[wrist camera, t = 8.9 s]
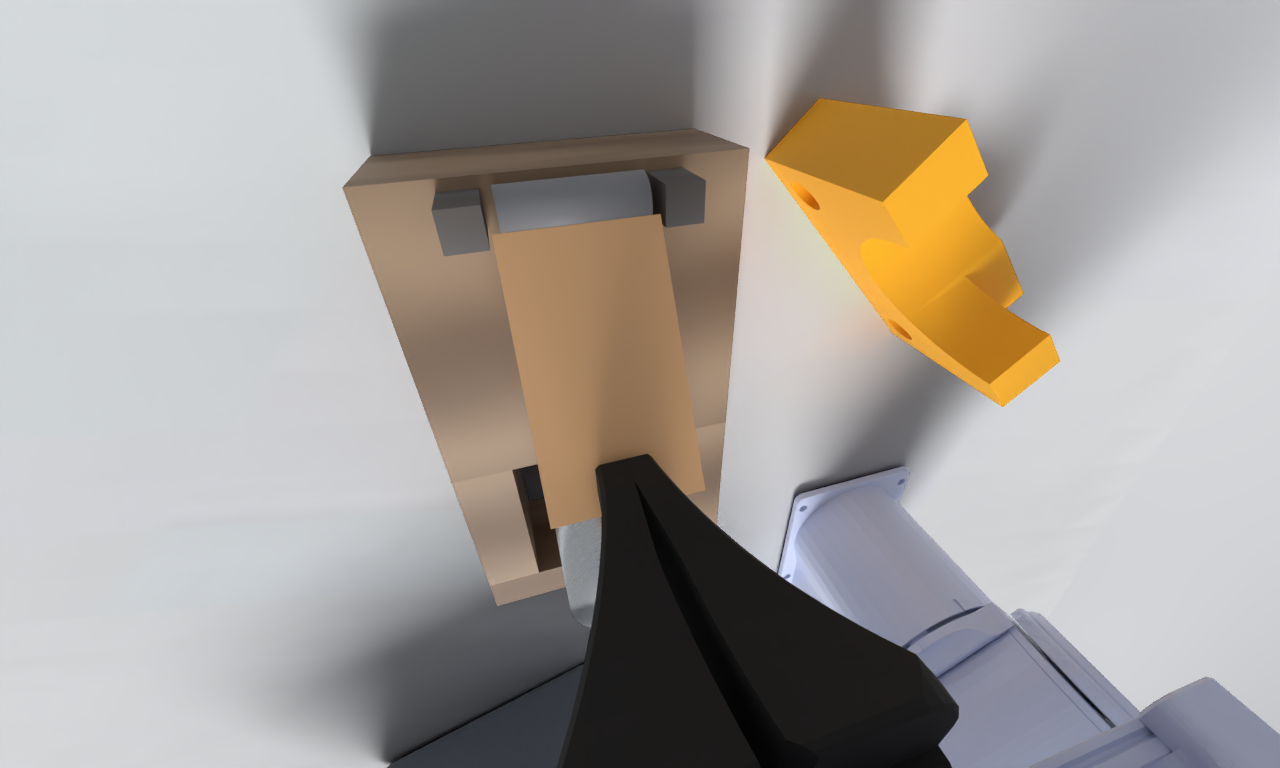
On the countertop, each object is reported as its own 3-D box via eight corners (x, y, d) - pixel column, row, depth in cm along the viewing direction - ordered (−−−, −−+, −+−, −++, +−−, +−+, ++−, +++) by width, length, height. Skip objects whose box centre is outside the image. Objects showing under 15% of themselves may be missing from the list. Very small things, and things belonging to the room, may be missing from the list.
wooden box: (684, 484, 26) (729, 574, 22) (493, 532, 24) (499, 642, 19) (693, 128, 16) (779, 159, 12) (370, 155, 14) (326, 205, 10)
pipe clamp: (962, 266, 23) (1101, 328, 18) (890, 331, 24) (1003, 407, 19) (855, 54, 17) (1028, 57, 11) (761, 157, 18) (882, 202, 12)
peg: (626, 461, 24) (683, 610, 18) (543, 478, 23) (573, 641, 17) (625, 395, 22) (692, 539, 15) (534, 410, 21) (565, 569, 14)
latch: (485, 196, 12) (479, 176, 11) (640, 180, 13) (654, 159, 11) (548, 513, 13) (551, 532, 12) (690, 477, 14) (708, 492, 12)
